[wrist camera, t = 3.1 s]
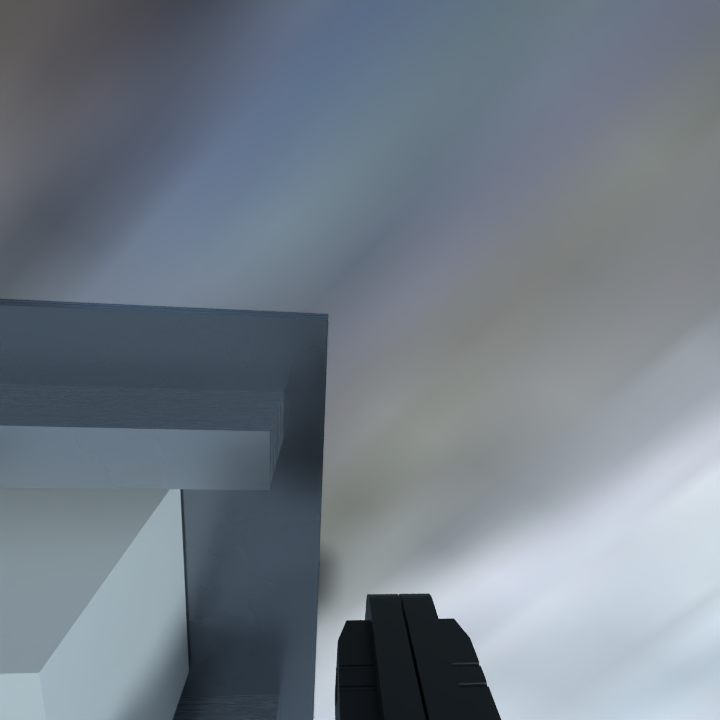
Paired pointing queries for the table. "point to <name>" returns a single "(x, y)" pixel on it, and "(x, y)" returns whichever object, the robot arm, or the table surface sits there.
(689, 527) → the table surface
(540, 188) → the table surface
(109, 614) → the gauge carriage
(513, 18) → the table surface
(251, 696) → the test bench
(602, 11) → the table surface
